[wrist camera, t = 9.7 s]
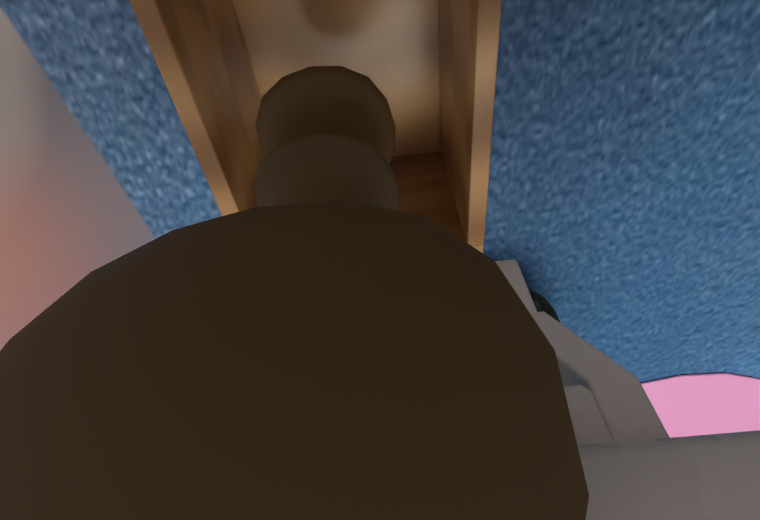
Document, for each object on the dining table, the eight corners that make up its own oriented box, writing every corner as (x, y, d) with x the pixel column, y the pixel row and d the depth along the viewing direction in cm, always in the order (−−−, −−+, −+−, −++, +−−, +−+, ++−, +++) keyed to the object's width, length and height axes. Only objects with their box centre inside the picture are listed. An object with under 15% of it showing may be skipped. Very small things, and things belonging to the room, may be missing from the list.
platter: (681, 487, 73) (692, 510, 70) (492, 486, 68) (498, 510, 66) (849, 379, 52) (874, 406, 49) (591, 366, 47) (604, 395, 45)
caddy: (182, -126, 19) (82, -105, 12) (452, -164, 19) (514, -166, 12) (274, 174, 30) (250, 281, 22) (450, 154, 29) (483, 256, 22)
